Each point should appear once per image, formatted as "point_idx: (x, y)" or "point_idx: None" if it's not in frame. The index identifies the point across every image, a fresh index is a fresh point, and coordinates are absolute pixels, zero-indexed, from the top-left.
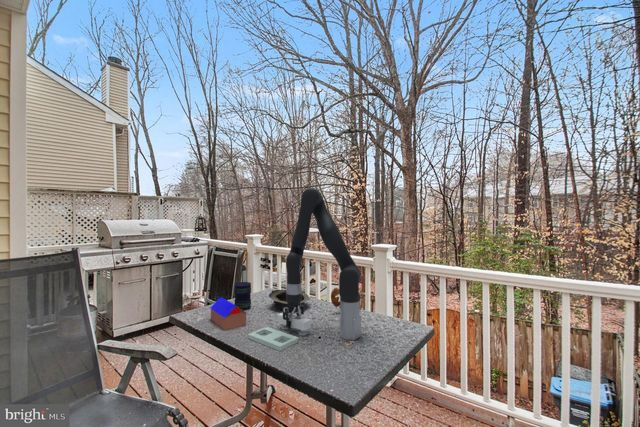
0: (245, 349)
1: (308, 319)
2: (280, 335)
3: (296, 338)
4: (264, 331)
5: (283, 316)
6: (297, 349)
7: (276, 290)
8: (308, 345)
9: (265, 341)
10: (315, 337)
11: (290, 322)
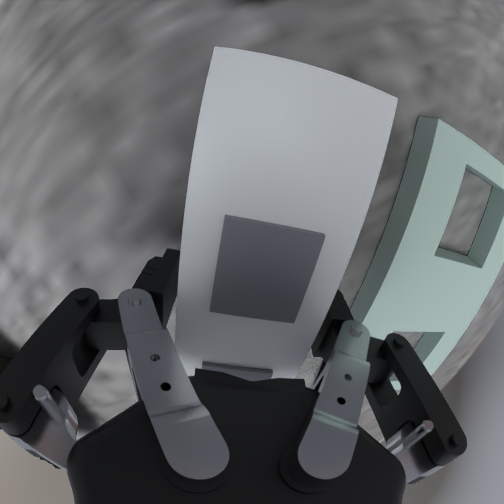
0: (494, 313)
1: (232, 86)
2: (434, 266)
3: (456, 131)
4: None
5: (396, 393)
6: (487, 97)
7: (41, 457)
8: (430, 39)
9: (488, 287)
10: (282, 20)
11: (333, 306)
